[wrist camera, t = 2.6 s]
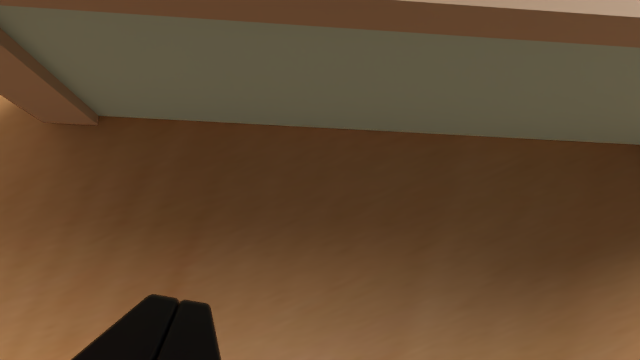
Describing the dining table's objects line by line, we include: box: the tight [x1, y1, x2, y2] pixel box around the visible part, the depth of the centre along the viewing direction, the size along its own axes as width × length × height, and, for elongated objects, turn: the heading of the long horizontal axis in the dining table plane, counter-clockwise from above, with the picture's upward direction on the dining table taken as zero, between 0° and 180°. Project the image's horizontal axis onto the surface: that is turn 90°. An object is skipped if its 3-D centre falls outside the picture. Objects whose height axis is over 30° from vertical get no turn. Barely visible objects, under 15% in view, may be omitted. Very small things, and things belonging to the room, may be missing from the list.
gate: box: [0, 0, 640, 145], centre depth 14 cm, size 21×2×10 cm, turn 88°
